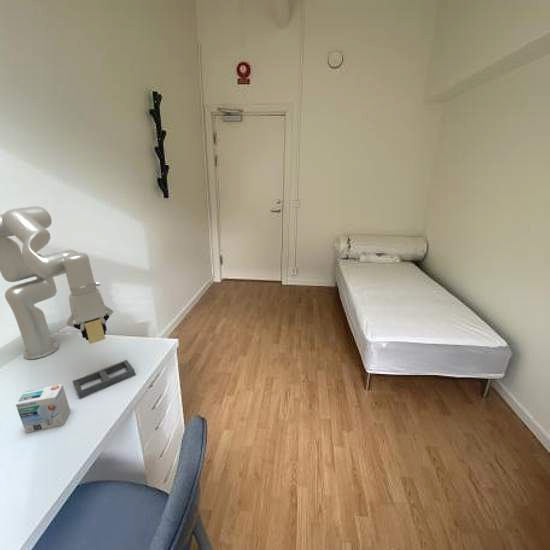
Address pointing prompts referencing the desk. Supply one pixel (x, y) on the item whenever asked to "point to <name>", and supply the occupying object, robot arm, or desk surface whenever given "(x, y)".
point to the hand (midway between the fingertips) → (95, 335)
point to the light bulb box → (43, 408)
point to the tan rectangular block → (94, 330)
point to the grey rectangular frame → (103, 378)
